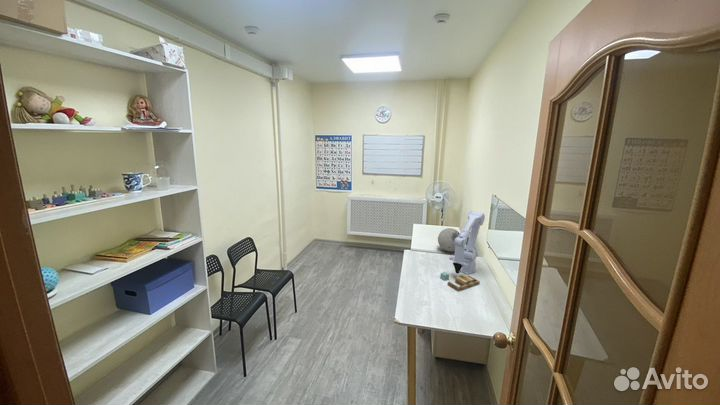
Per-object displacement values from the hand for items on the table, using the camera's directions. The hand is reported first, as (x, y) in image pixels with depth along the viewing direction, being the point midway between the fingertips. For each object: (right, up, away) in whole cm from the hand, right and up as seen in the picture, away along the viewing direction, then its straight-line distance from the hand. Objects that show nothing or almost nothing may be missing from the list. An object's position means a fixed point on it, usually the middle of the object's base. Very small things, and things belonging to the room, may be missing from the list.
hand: (457, 272), depth 188 cm
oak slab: (+3, -5, -5) cm, 8 cm away
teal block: (-9, -4, -1) cm, 10 cm away
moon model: (+10, +6, +48) cm, 49 cm away
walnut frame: (+1, -6, -9) cm, 10 cm away
